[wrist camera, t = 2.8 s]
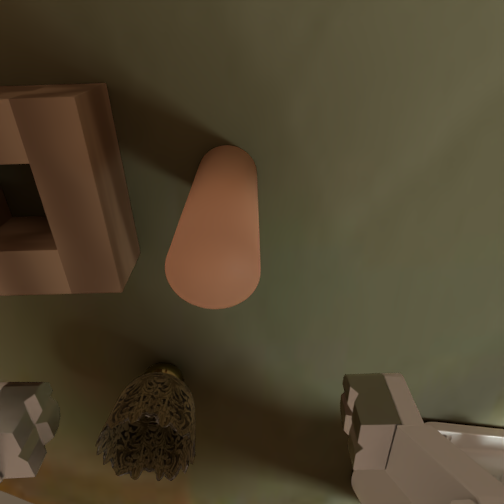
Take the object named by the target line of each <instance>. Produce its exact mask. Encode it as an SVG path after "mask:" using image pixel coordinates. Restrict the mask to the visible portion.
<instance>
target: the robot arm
mask: <svg viewBox="0 0 504 504" xmlns="http://www.w3.org/2000/svg"><path fill="white" fill-rule="evenodd" d="M343 388H344V393H343V394H342V395H341V400H340V412H341V420H342V425H343V429H344V431H345V432H346V433H347V434H348V435H349V437H348V444H347V447H348V451H349V455H350V459H351V463H352V467H353V470H354V472H353V474H352V479H351V484H352V488H353V490H354V492H355V494H356V496H357V497H358V499H359V501H360V503H361V504H504V429H497V428H487V427H478V426H469V425H459V424H450V423H441V422H426V423H424V422H423V420H422V418H421V415H420V413H419V411H418V409H417V406H416V404H415V402H414V400H413V397H412V395H411V393H410V391H409V388H408V386H407V384H406V382H405V379H404V377H403V375H402V374H401V373H381V374H380V373H369V374H345V375H344V377H343ZM52 391H53V390H52V388H51V386H50V384H49V383H48V382H0V483H1V482H2V481H3V479H4V478H23V477H36V474H37V472H38V470H39V468H40V466H41V464H42V462H43V460H44V457H45V455H46V453H47V452H46V448H45V444H46V443H48V442H49V441H50V440H51V439H52V438H53V437H54V436H55V434H56V431H57V429H58V426H59V421H60V407H59V405H58V402H57V401H55V400H54V399H53V398H51V397H50V395H51V393H52Z"/></svg>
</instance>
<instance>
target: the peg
mask: <svg viewBox="0 0 504 504" xmlns="http://www.w3.org/2000/svg"><path fill="white" fill-rule="evenodd" d="M165 273H166V277H167V280H168V282H169V284H170V286H171V288H172V289H173V290H174V291H175V293H176V294H177V295H178V296H180V297H181V298H182V299H183V300H185V301H187V302H188V303H191V304H193V305H195V306H198V307H202V308H207V309H223V308H228V307H232V306H235V305H237V304H239V303H241V302H243V301H244V300H246V299H247V298H248V297H249V296H250V295H251V294H252V293H253V292H254V290H255V289H256V287H257V285H258V283H259V279H260V273H261V266H260V240H259V213H258V187H257V169H256V165H255V163H254V161H253V159H252V158H251V156H250V155H249V154H248V153H247V152H245V151H244V150H242V149H241V148H239V147H236V146H231V145H222V146H218V147H215V148H213V149H211V150H210V151H208V152H207V153H206V154H205V155H204V157H203V158H202V160H201V162H200V164H199V167H198V170H197V173H196V175H195V178H194V181H193V184H192V187H191V189H190V192H189V195H188V198H187V201H186V204H185V206H184V209H183V212H182V215H181V218H180V220H179V223H178V226H177V229H176V232H175V234H174V237H173V240H172V243H171V246H170V248H169V251H168V254H167V257H166V261H165Z"/></svg>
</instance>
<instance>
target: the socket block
mask: <svg viewBox="0 0 504 504" xmlns="http://www.w3.org/2000/svg"><path fill="white" fill-rule="evenodd" d="M1 164H30V167H31V170H32V173H33V176H34V179H35V182H36V186H37V189H38V192H39V195H40V198H41V201H42V204H43V207H44V210H45V213H46V216H33V217H12V215H11V212H10V210H9V207H8V204H7V202H6V199H5V196H4V194H3V191H2V188H1V186H0V296H3V295H41V294H79V293H117V292H122V291H123V289H124V287H125V285H126V283H127V281H128V279H129V277H130V274H131V272H132V270H133V268H134V266H135V264H136V262H137V260H138V257H139V255H140V248H139V243H138V238H137V233H136V228H135V223H134V218H133V214H132V209H131V204H130V199H129V194H128V189H127V184H126V179H125V174H124V169H123V164H122V159H121V154H120V149H119V144H118V139H117V134H116V129H115V125H114V120H113V115H112V110H111V105H110V100H109V95H108V90H107V85H106V83H86V84H57V85H27V86H0V165H1Z"/></svg>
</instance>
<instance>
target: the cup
mask: <svg viewBox="0 0 504 504" xmlns="http://www.w3.org/2000/svg"><path fill="white" fill-rule="evenodd" d="M96 447H97V448H98V450H97V455H98V454H100V453H101V452H102V451H103V452H104V455H103V465H105V464H106V463H107V462H109V461H111V463H112V468H113V469H114V471H115V473H116V475H117V476H122V475H124V474H129V473H130V476H131V478H132V479H134V480H137V479H138V478H139V477H140V475H141V473H142V470H143V469H145V470H146V471H148V472H151V471H152V470H154V472H155V473H156V474H157V477H156V478H157V481H160V480H161V479H162V477H163V475H164V474H165V477H166V478H167V479H168V480H170V481H172V480H173V479H175V477H176V476H177V474H178V472H179V470H180V468H181V467H182V470H183V472H184V473H186V471H187V468H188V466H189V460H190V462H191V464H193V461H194V457H195V404H194V399H193V396H192V393H191V391H190V389H189V388H188V386H187V385H186V384H185V383H184V379H183V375H182V373H181V371H180V370H179V369H178V368H177V367H176V366H174V365H172V364H169V363H157V364H154V365H152V366H151V367H149V368H148V369H147V370H146V372H145V373H144V375H141V376H139V377H138V378H136V379H134V380H133V381H132V382H131V383H130V384H129V385H128V386H127V387H126V388H125V389H124V391H123V392H122V393H121V395H120V397H119V398H118V400H117V402H116V404H115V406H114V408H113V410H112V412H111V414H110V416H109V418H108V420H107V422H106V424H105V426H104V428H103V430H102V432H101V434H100V435H99V438H98V440H97V443H96ZM143 471H144V470H143Z"/></svg>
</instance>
